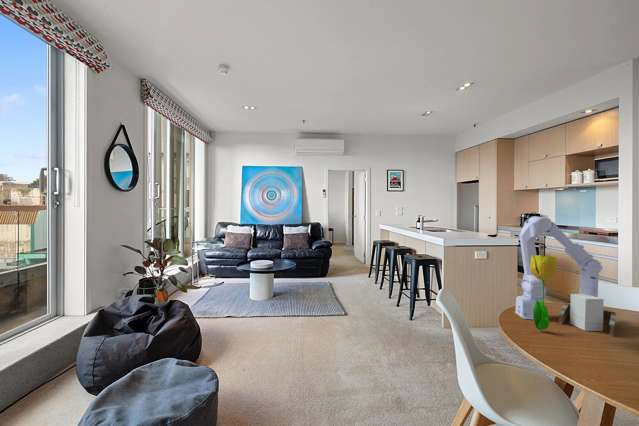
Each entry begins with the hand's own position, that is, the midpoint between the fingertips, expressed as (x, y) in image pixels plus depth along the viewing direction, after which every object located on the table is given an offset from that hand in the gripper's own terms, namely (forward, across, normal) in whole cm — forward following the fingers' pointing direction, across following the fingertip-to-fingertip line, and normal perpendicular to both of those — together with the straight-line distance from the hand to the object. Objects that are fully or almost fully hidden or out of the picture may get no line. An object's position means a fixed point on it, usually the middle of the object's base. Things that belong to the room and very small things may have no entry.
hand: (587, 318), depth 125 cm
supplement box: (+2, -8, 0) cm, 8 cm away
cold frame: (+1, -4, 0) cm, 4 cm away
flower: (+2, -26, +11) cm, 29 cm away
